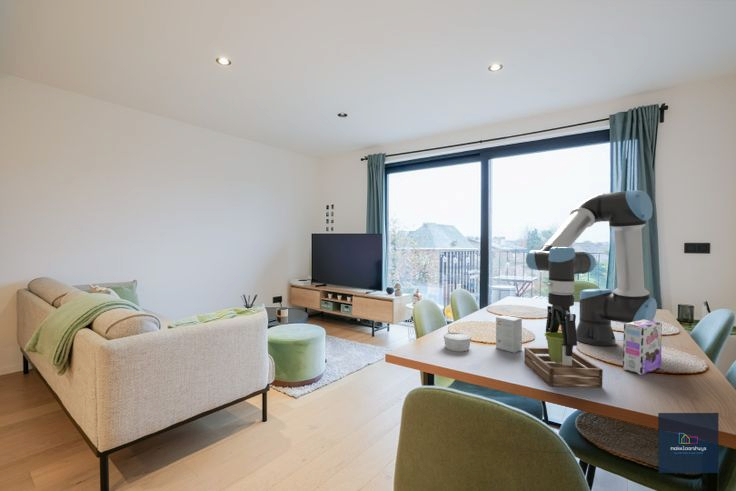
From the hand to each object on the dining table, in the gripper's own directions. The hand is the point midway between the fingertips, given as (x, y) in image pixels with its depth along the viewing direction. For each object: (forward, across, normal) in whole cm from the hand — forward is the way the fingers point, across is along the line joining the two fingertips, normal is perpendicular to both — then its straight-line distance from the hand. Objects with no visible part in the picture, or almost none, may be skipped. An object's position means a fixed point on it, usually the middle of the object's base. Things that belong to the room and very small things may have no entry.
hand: (559, 359), depth 113 cm
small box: (+5, -25, -8) cm, 27 cm away
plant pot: (+1, 0, 0) cm, 1 cm away
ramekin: (+5, -25, -29) cm, 39 cm away
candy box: (+5, -6, +31) cm, 32 cm away
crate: (+5, 0, 0) cm, 5 cm away
